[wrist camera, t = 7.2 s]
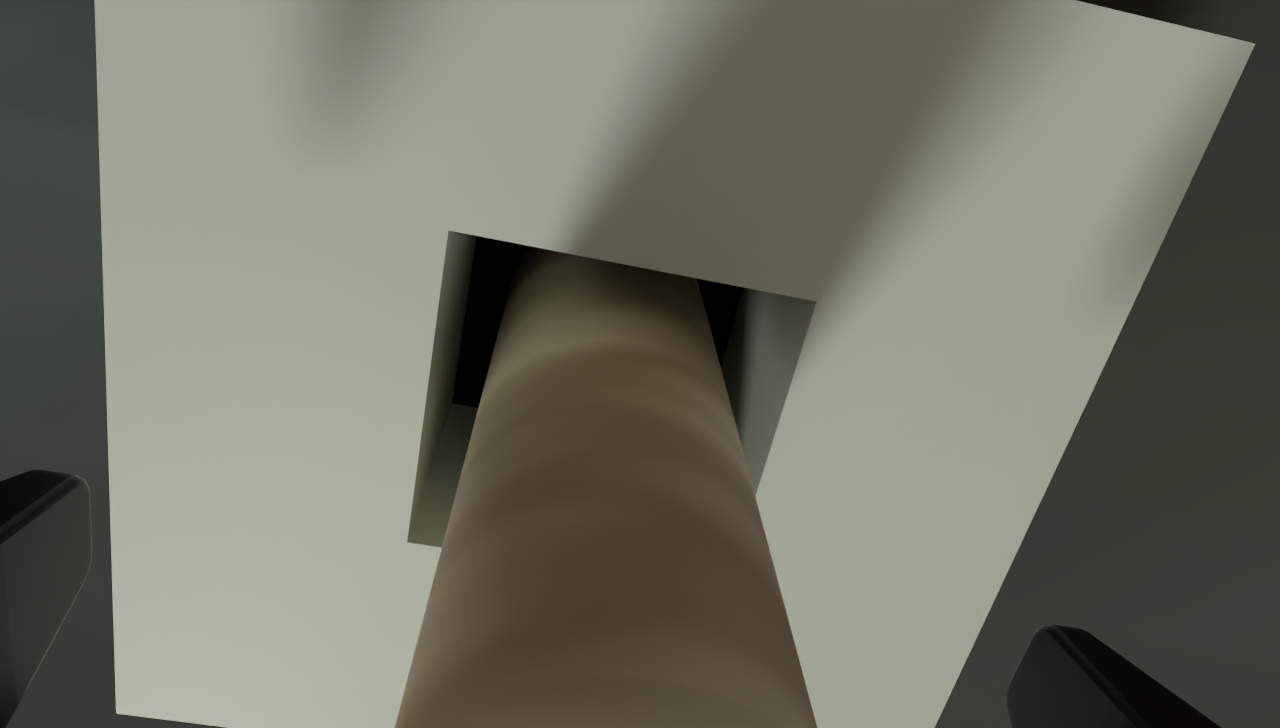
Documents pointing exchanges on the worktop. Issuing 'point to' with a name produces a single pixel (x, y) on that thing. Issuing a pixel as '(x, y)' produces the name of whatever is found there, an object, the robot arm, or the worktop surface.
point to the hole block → (621, 233)
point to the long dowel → (604, 526)
